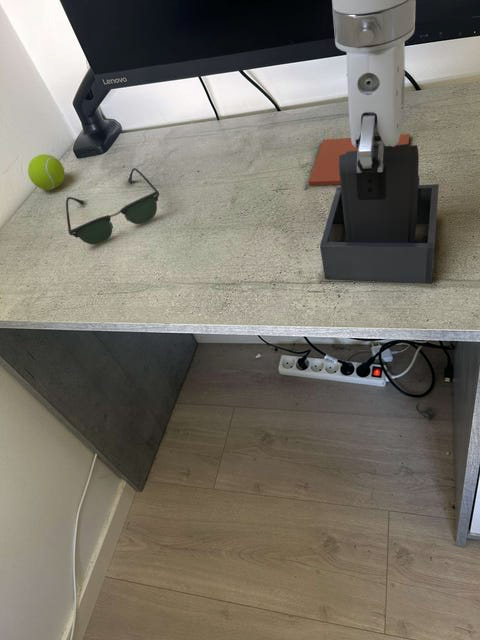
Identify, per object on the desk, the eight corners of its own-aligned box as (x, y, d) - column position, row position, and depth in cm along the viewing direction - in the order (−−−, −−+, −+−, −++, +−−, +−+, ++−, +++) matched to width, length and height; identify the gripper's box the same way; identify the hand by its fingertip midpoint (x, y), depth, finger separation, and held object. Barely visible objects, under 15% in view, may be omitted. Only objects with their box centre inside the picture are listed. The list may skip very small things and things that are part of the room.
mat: (409, 138, 84) (409, 133, 84) (403, 182, 76) (403, 178, 76) (323, 143, 90) (323, 139, 89) (309, 185, 82) (308, 181, 81)
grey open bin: (436, 220, 69) (438, 184, 65) (431, 283, 62) (434, 247, 57) (340, 220, 74) (336, 187, 70) (324, 279, 67) (319, 246, 62)
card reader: (415, 237, 68) (418, 137, 57) (417, 256, 65) (421, 156, 55) (348, 242, 70) (339, 148, 60) (347, 261, 68) (338, 166, 57)
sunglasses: (144, 175, 98) (134, 152, 94) (168, 215, 86) (158, 191, 82) (67, 209, 96) (54, 187, 92) (82, 255, 84) (68, 232, 81)
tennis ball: (33, 197, 103) (14, 168, 98) (49, 178, 107) (32, 149, 102) (61, 195, 100) (43, 165, 95) (76, 175, 104) (59, 146, 99)
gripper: (407, 55, 41) (403, 219, 53) (421, -19, 51) (415, 133, 63) (317, 65, 43) (334, 219, 56) (348, -8, 53) (356, 136, 66)
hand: (377, 173), depth 59 cm, fingers open, 9 cm apart
